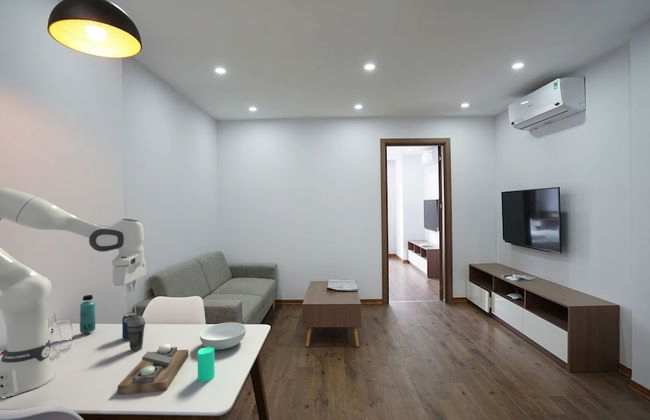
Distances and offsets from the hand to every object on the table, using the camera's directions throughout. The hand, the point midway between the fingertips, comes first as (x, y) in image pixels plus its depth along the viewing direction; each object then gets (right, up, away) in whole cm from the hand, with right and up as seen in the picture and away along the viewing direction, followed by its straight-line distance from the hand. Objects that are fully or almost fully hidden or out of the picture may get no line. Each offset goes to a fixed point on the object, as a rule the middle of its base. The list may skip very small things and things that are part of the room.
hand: (131, 291), depth 123 cm
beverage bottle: (-44, -31, +32) cm, 63 cm away
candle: (+35, -31, -9) cm, 47 cm away
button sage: (+15, -27, -14) cm, 34 cm away
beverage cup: (-7, -31, +14) cm, 35 cm away
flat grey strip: (+14, -26, -6) cm, 30 cm away
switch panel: (+14, -31, -6) cm, 34 cm away
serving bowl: (+32, -31, +19) cm, 48 cm away
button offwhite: (+13, -26, +2) cm, 29 cm away
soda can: (-18, -31, +27) cm, 45 cm away
